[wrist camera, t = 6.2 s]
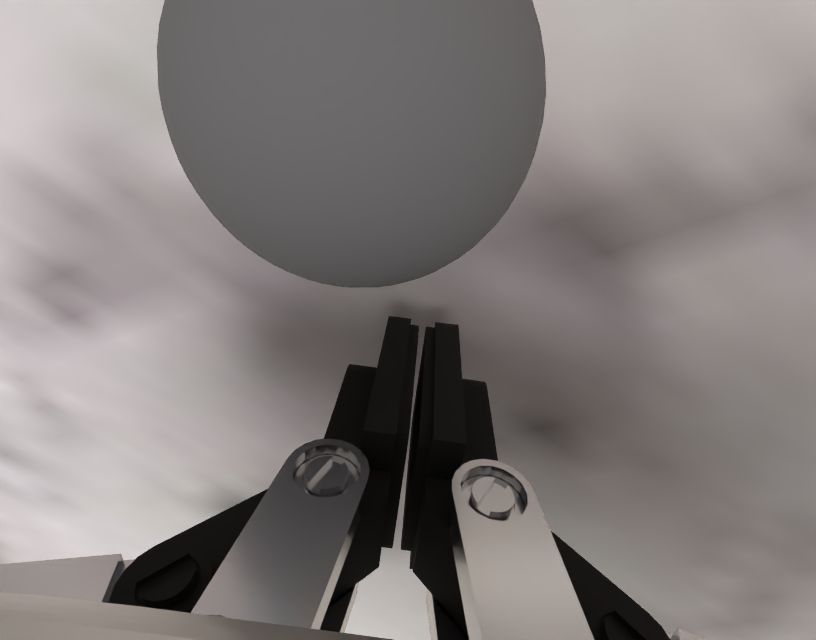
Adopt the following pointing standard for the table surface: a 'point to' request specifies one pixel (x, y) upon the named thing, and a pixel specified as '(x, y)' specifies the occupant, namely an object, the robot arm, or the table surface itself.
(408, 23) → the grey ball
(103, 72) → the table surface
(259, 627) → the robot arm
